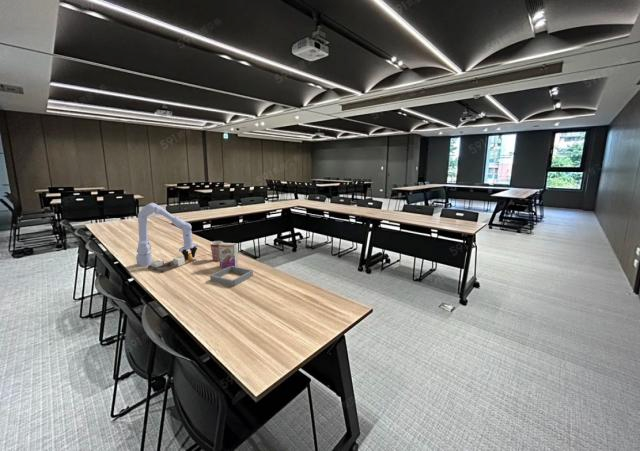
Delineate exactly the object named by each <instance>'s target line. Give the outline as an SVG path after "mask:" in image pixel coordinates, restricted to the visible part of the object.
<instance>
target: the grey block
mask: <svg viewBox="0 0 640 451" xmlns="http://www.w3.org/2000/svg"><path fill="white" fill-rule="evenodd" d="M162 261H163V260H156V261H152V263H151V266H153V267H158V266H161V265H163V262H162Z"/></svg>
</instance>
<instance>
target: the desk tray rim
mask: <svg viewBox="0 0 640 451" xmlns="http://www.w3.org/2000/svg"><path fill="white" fill-rule="evenodd" d="M232 272H233V273H237V274H241V275H240V276H238V277H236V278H234V279H230V278H226V277H224V276H226V275H228V274H230V273H232ZM209 277H210V282H213V283H215V284H220V285H224V286H228V287H232V288H233V287H237V286H238V285H239V284H241V283H243V282H244V281H246V280H249V279H250V278H252V277H254V270H253V269H249V268H244V267H239V266H237V267H235V266H229V267H224V268H223V269H221V270H218V271H217V272H214V273H212V274H210V276H209Z"/></svg>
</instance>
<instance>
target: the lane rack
mask: <svg viewBox="0 0 640 451" xmlns="http://www.w3.org/2000/svg"><path fill="white" fill-rule="evenodd" d="M184 260H185V258H184ZM161 261H162V262H163V265H161V266H158V267H153V266H151V265H149V266H147V268H148V270H151V271H155V272H159V273H167V272H168V271H171V270H174V269H177V268H180V267H182V266H186V265H188V264H190V263H193V262H196V261H197V259H195V258H192V261H188V262H185V264H183V265H180V266H178V264H176V265H174V264H173V259H172V260H169V261H167V262H165V261H164V260H161ZM185 261H186V260H185Z"/></svg>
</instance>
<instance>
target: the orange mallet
mask: <svg viewBox="0 0 640 451" xmlns="http://www.w3.org/2000/svg"><path fill="white" fill-rule="evenodd" d="M192 259H193V257H192V253H191V252H188V260H186V261H185V260H184V256H177V257H173V258H172V260H173V264H174V265H176V264H178V266H180V265H183V264H185V262H188V261H192ZM185 265H186V264H185ZM183 266H184V265H183ZM180 267H181V266H180Z"/></svg>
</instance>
